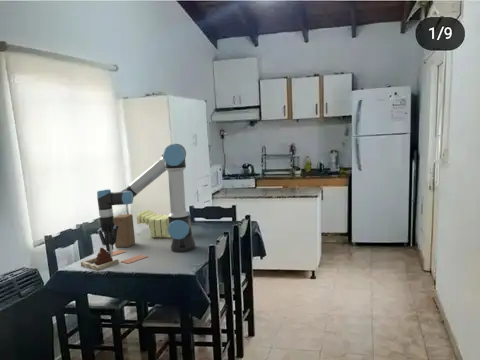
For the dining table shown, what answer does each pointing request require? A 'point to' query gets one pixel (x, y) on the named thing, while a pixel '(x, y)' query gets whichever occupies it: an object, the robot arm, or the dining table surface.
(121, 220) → the wooden block
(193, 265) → the dining table surface
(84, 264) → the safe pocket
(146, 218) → the slatted curved stool
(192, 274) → the dining table surface
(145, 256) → the pads
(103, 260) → the poop emoji
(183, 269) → the dining table surface
